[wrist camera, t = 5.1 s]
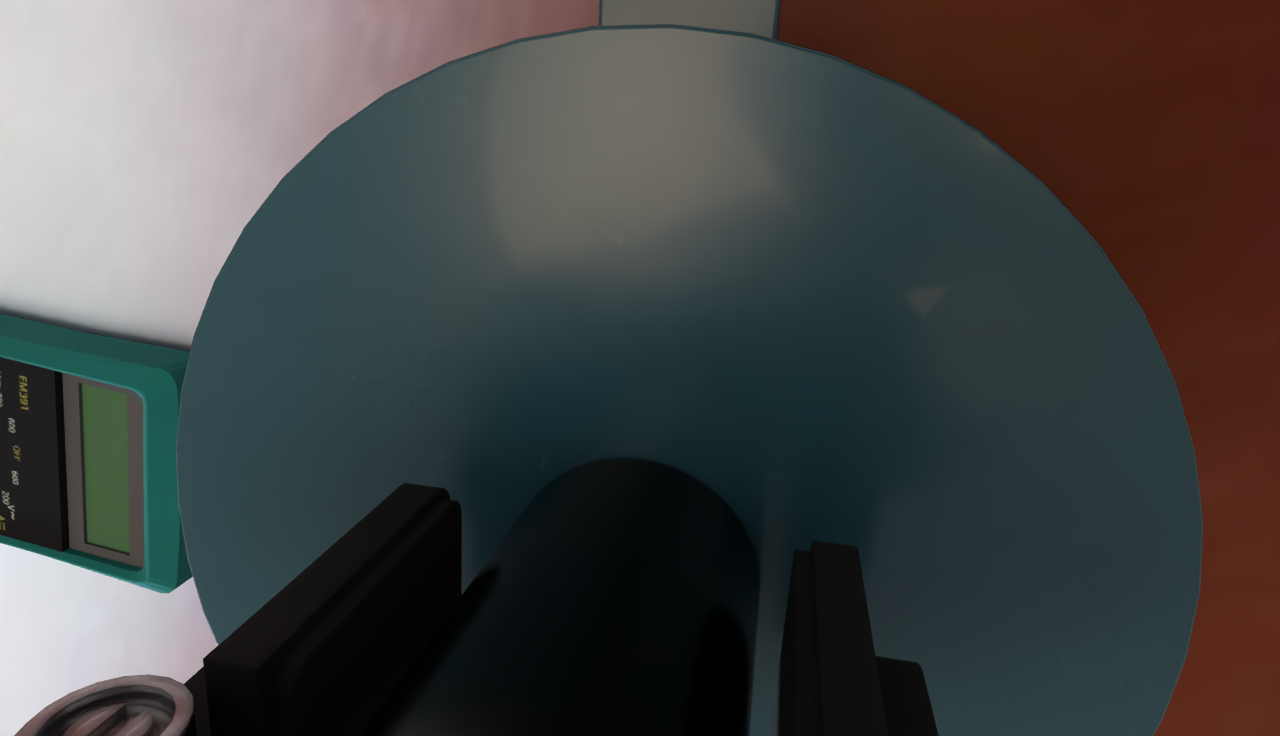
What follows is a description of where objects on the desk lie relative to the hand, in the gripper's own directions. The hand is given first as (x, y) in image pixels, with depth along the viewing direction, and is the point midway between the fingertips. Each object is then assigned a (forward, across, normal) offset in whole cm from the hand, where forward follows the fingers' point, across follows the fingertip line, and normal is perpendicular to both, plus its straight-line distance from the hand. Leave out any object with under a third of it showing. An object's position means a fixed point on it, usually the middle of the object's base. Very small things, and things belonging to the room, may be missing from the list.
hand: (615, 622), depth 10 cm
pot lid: (+2, 0, 0) cm, 2 cm away
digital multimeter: (+13, +22, +4) cm, 26 cm away
